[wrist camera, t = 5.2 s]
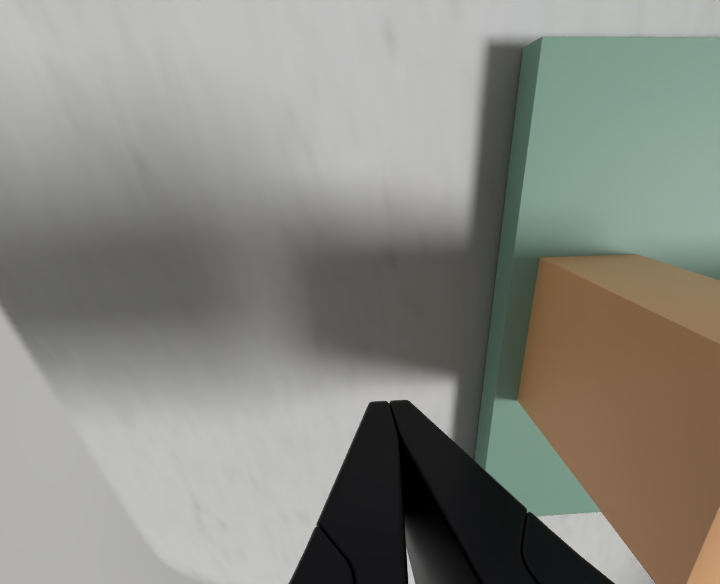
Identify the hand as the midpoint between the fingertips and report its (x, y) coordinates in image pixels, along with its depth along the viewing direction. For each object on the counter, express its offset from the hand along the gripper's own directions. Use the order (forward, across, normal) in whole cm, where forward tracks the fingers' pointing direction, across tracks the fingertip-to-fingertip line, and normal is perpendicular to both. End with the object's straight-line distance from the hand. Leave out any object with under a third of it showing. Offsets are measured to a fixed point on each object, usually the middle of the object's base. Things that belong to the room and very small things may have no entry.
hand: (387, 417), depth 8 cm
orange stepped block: (+4, -8, 0) cm, 9 cm away
